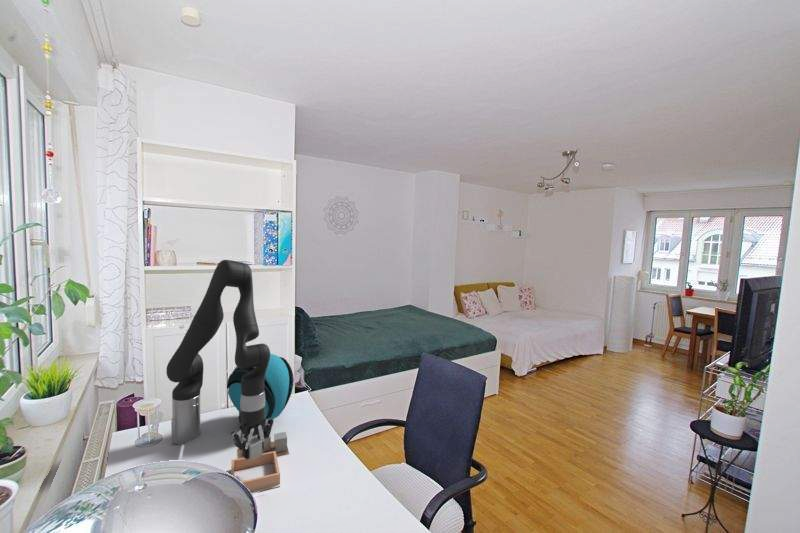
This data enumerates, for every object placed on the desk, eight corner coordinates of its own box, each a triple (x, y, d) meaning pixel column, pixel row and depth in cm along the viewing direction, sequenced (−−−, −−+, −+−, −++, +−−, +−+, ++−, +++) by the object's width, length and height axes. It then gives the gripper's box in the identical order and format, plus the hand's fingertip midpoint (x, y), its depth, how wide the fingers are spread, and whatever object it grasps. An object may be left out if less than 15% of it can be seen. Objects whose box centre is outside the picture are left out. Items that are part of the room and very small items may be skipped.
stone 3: (275, 452, 129) (275, 439, 129) (274, 446, 133) (274, 433, 132) (286, 450, 131) (287, 437, 130) (285, 444, 134) (285, 431, 134)
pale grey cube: (259, 453, 128) (260, 440, 128) (255, 448, 131) (255, 435, 130) (270, 449, 131) (270, 436, 131) (265, 444, 134) (265, 431, 133)
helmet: (303, 420, 154) (305, 353, 152) (257, 446, 134) (258, 370, 131) (263, 403, 168) (264, 341, 165) (216, 425, 147) (216, 354, 144)
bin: (231, 499, 108) (231, 485, 107) (231, 472, 119) (231, 460, 119) (279, 487, 114) (280, 474, 113) (275, 462, 125) (275, 450, 125)
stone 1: (244, 456, 117) (244, 441, 117) (256, 450, 120) (256, 436, 120) (250, 461, 115) (250, 446, 114) (262, 455, 118) (262, 441, 117)
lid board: (237, 468, 122) (237, 465, 121) (237, 451, 131) (237, 448, 130) (289, 457, 129) (289, 454, 129) (285, 442, 138) (285, 439, 138)
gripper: (267, 394, 124) (267, 441, 125) (225, 408, 113) (226, 460, 114) (278, 401, 119) (278, 450, 120) (236, 417, 108) (237, 470, 109)
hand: (253, 454), depth 117 cm, fingers closed on stone 1, 4 cm apart
